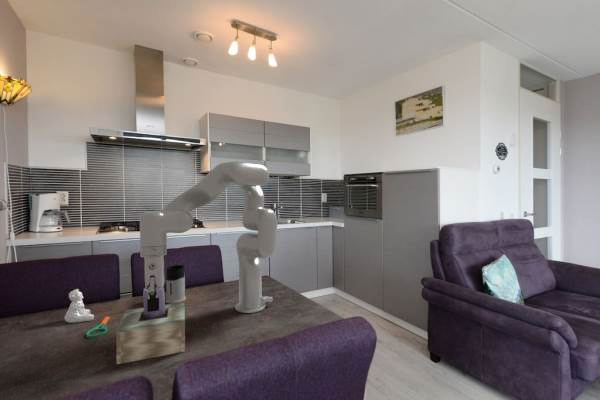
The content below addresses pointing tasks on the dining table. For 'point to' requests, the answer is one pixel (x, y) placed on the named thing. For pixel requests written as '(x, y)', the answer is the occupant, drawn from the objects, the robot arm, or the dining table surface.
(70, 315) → the white creature statuette
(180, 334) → the tissue box
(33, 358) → the dining table surface
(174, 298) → the white pitcher
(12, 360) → the dining table surface
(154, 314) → the beverage can
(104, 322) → the magnifying glass
